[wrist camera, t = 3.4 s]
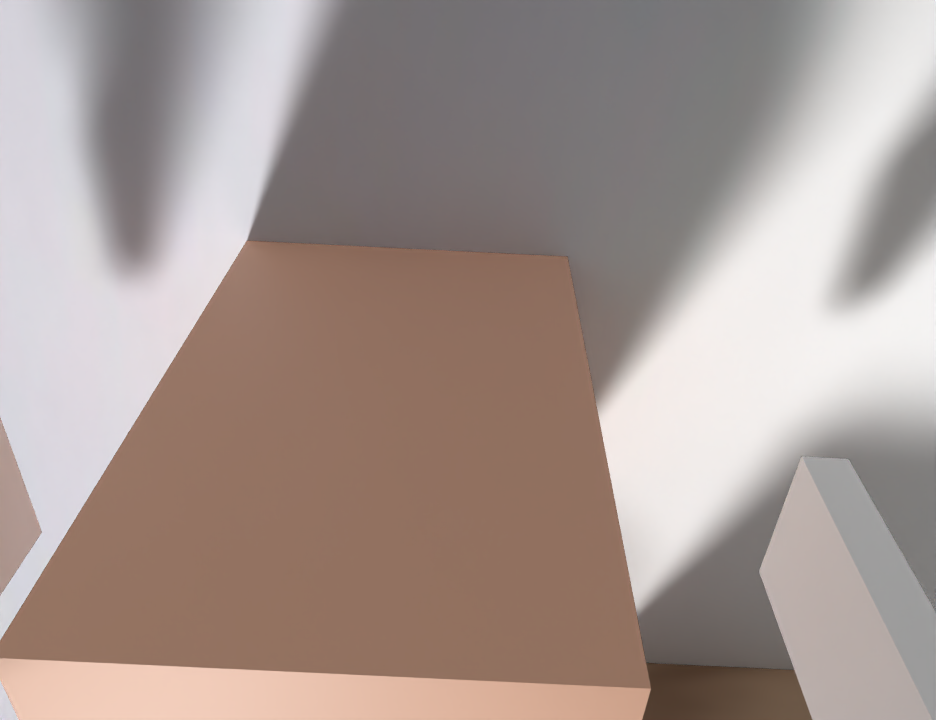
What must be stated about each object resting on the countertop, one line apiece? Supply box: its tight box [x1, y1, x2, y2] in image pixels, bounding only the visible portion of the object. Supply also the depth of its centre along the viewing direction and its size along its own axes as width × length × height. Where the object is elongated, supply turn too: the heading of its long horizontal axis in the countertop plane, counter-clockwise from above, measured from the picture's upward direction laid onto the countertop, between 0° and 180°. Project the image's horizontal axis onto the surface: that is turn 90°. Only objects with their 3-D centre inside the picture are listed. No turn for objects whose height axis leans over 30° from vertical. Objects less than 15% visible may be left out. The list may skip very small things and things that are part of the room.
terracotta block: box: [0, 241, 651, 720], centre depth 12 cm, size 6×6×9 cm
